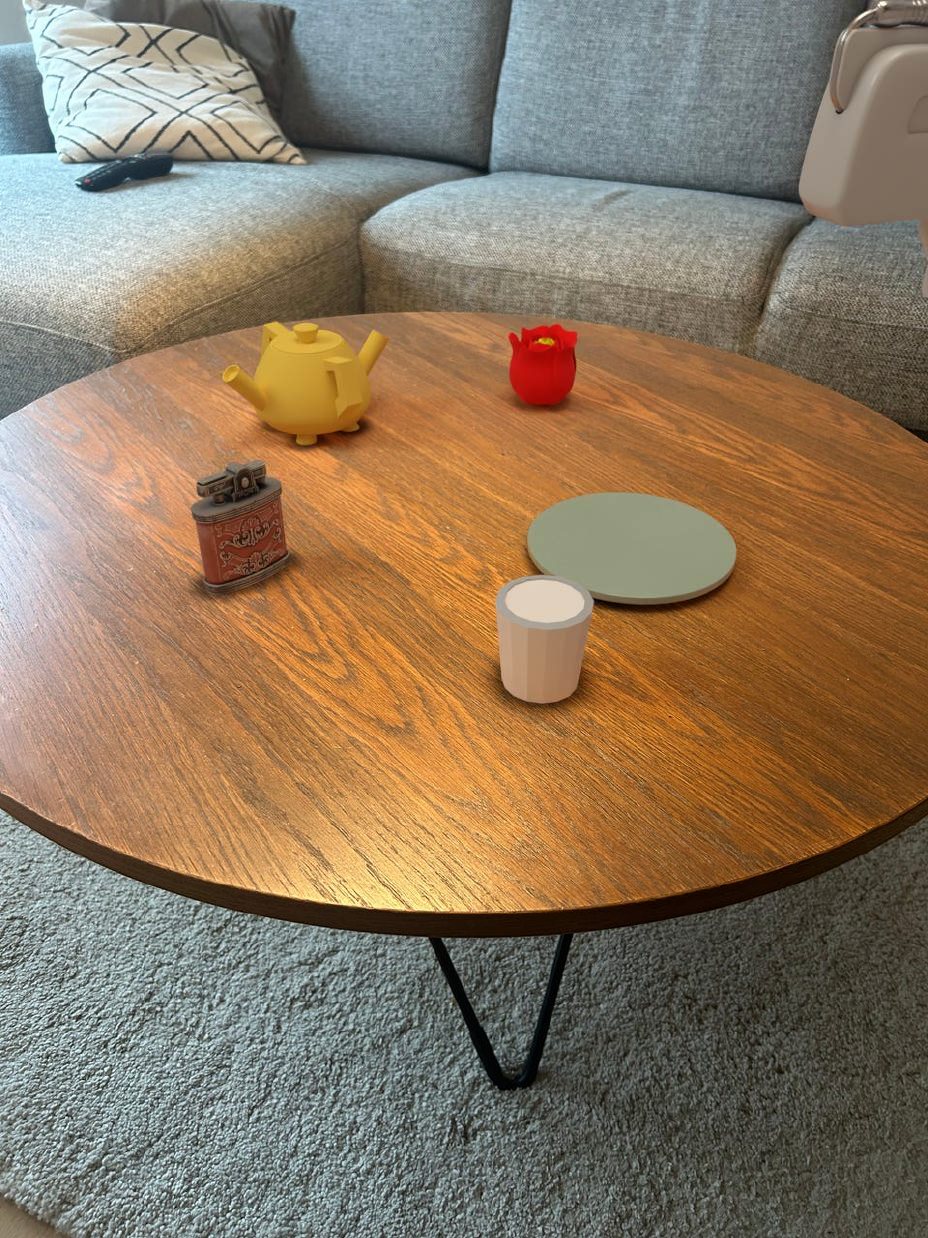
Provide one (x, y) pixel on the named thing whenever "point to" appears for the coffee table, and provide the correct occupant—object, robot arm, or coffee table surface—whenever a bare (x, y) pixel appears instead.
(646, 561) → the plate
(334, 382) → the teapot
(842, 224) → the robot arm
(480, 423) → the coffee table surface
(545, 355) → the flower
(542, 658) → the shot glass
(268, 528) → the lighter
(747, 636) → the coffee table surface
